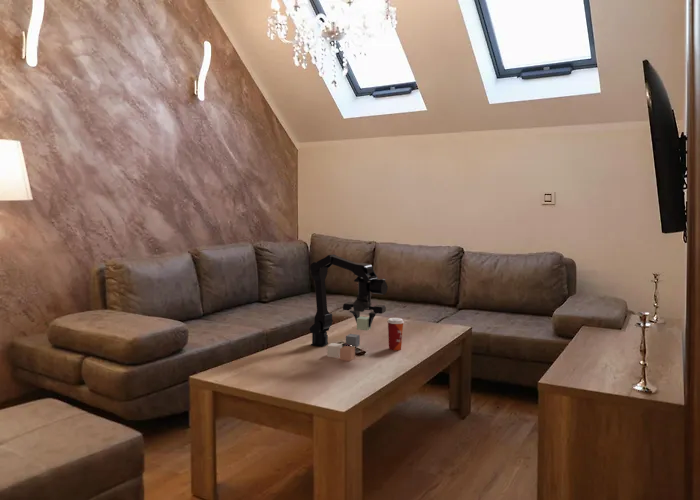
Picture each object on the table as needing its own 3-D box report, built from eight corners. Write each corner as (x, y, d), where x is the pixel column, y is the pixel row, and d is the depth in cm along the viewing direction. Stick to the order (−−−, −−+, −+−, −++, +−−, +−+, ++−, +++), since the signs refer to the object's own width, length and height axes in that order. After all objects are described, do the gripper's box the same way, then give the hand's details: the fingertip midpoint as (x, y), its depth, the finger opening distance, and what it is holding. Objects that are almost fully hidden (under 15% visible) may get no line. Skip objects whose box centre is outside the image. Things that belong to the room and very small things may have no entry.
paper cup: (402, 351, 259) (403, 321, 257) (385, 350, 260) (386, 320, 259) (404, 347, 266) (404, 317, 265) (387, 346, 268) (388, 317, 266)
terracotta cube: (339, 359, 245) (340, 348, 244) (344, 356, 250) (344, 345, 249) (350, 361, 243) (350, 349, 243) (354, 358, 248) (355, 347, 247)
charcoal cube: (345, 346, 267) (345, 336, 266) (349, 344, 271) (349, 333, 271) (355, 347, 265) (355, 337, 264) (359, 345, 269) (359, 334, 269)
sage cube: (356, 329, 253) (356, 318, 253) (360, 327, 258) (360, 316, 257) (367, 330, 252) (367, 319, 251) (370, 328, 256) (371, 317, 256)
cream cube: (327, 356, 249) (327, 345, 249) (331, 353, 254) (331, 342, 254) (337, 358, 248) (337, 346, 247) (342, 355, 252) (342, 344, 252)
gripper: (338, 293, 249) (337, 328, 251) (378, 296, 242) (377, 332, 244) (347, 289, 259) (347, 323, 261) (386, 292, 252) (385, 327, 254)
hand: (363, 326), depth 255 cm, fingers closed on sage cube, 5 cm apart
